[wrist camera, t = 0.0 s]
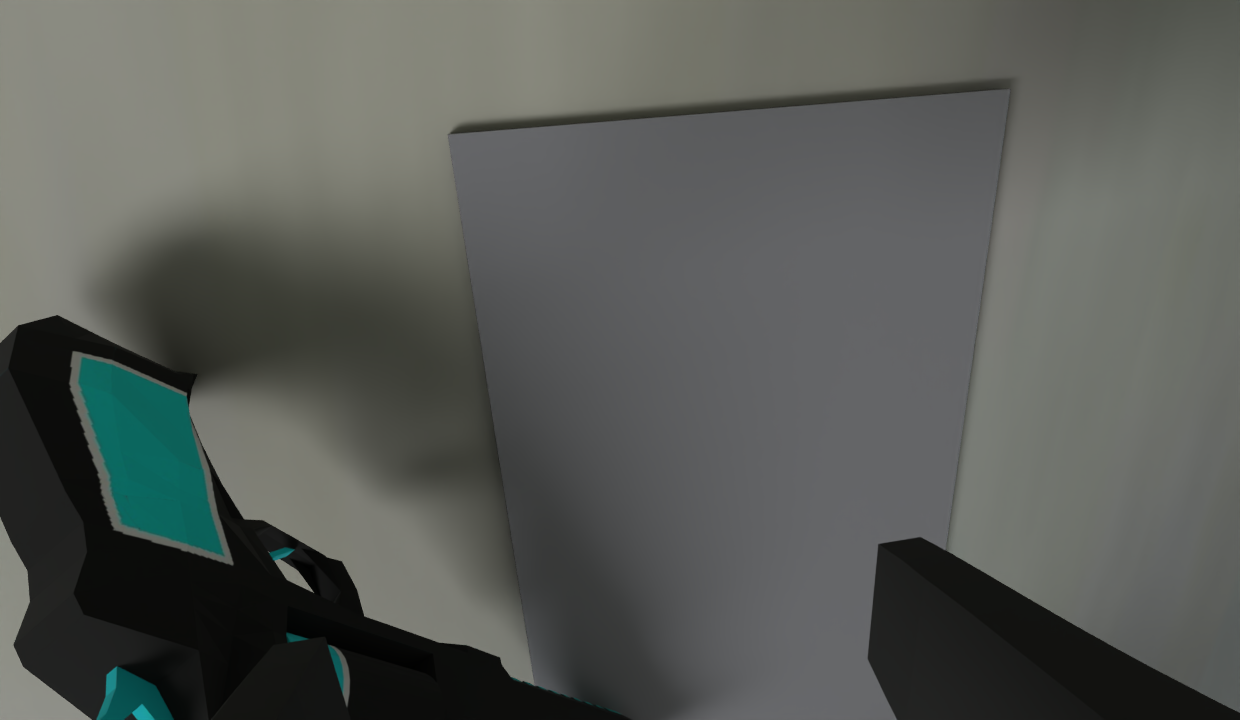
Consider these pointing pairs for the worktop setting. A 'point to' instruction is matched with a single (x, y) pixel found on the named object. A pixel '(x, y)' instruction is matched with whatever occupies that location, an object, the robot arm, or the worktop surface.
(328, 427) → the worktop surface
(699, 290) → the mat
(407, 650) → the toy gun
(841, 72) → the worktop surface
